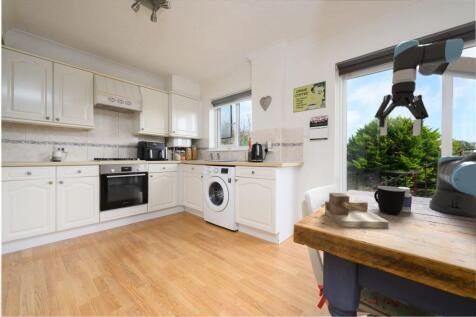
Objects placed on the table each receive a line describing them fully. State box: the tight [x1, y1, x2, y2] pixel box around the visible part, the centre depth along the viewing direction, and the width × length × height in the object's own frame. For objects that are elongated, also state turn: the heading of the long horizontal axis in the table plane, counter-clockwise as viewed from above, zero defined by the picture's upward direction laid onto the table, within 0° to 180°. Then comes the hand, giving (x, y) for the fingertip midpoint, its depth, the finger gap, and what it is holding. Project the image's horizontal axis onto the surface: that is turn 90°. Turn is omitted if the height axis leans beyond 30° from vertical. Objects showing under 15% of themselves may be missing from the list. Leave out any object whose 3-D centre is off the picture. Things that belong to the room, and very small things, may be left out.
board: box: [324, 200, 390, 228], centre depth 74 cm, size 16×13×5 cm
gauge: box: [328, 192, 353, 215], centre depth 73 cm, size 5×11×7 cm, turn 0°
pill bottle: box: [397, 186, 413, 213], centre depth 85 cm, size 5×5×10 cm
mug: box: [373, 185, 405, 216], centre depth 84 cm, size 12×9×10 cm
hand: (399, 135), depth 83 cm, fingers open, 13 cm apart
